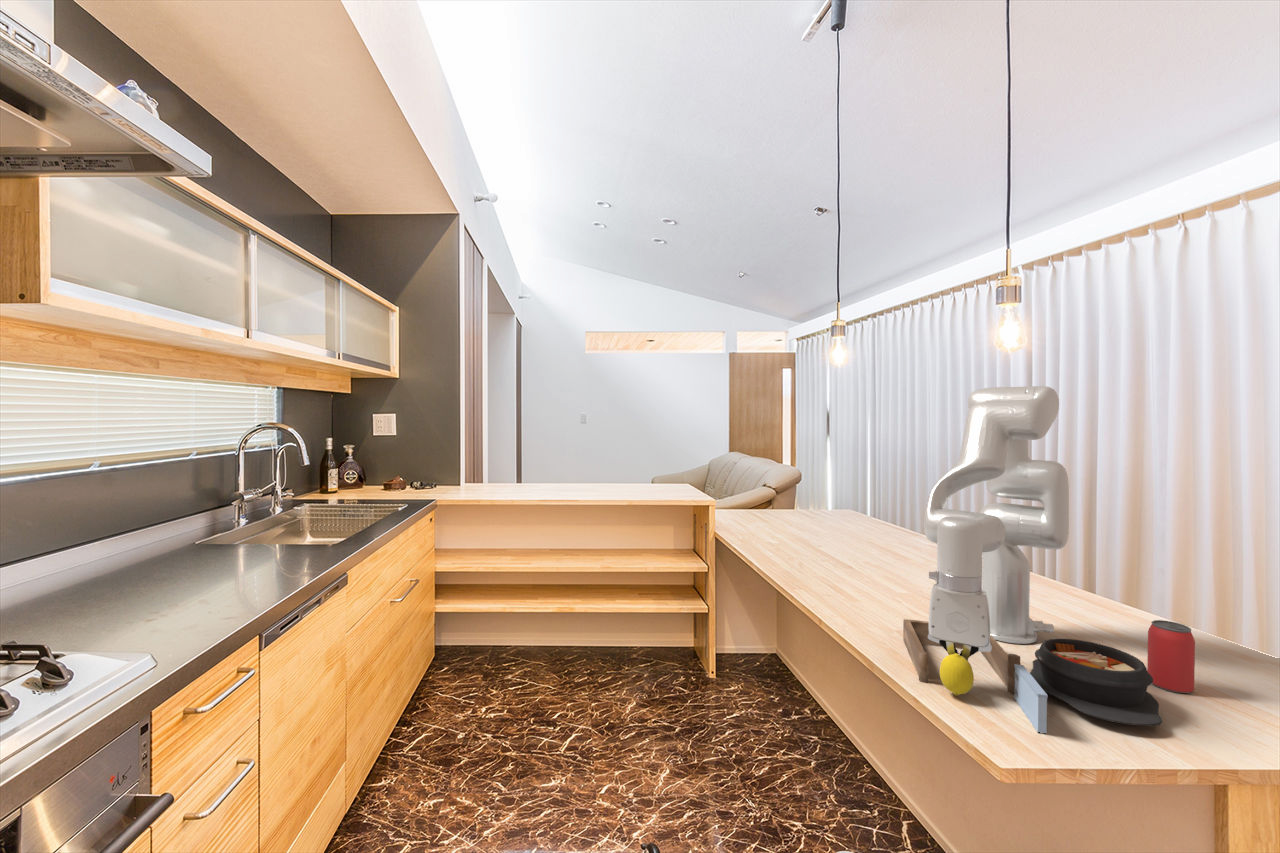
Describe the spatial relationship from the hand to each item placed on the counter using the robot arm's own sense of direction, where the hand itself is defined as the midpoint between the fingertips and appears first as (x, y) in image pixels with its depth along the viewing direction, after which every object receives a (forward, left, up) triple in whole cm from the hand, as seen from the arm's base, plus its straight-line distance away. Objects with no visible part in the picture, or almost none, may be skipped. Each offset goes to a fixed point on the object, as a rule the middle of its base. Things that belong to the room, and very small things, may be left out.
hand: (958, 675), depth 106 cm
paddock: (-1, -11, -2) cm, 11 cm away
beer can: (-39, -13, -3) cm, 41 cm away
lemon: (+1, +4, -2) cm, 5 cm away
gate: (-9, +8, -2) cm, 12 cm away
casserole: (-22, -3, -3) cm, 23 cm away
